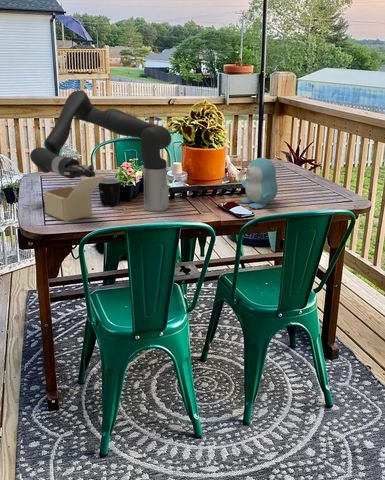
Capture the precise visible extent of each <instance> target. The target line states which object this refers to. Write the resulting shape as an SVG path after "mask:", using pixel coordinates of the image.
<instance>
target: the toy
mask: <svg viewBox="0 0 385 480" xmlns="http://www.w3.org/2000/svg"><path fill="white" fill-rule="evenodd" d="M276 170H277V169H276V167H275V164H274V163H273V162H272V161H271V160H270V159H268V158H266V157H258V158H255V159H253V160H252V161H251V162H249V164H248V166H247V167H246V169H245V175H246V176H245V177H246V179H242V180H241V185H242V187H243V188H244V189H245V194H246V196H247V197H243V198H241V199H240V202H241V204H245V203H247V204H248V208H250V207H251V208H250V209H252V208H255V209H254V210H259V209H258V208H261V209H262V208H263V207H264V208H265V207H266V206H267V205H268V203H271V202H273V201H274V199H275V198H276V196H277V194H278V184H277V179H276V178H277V177H276V175H277V174H276V173H277V172H276Z"/></svg>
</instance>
